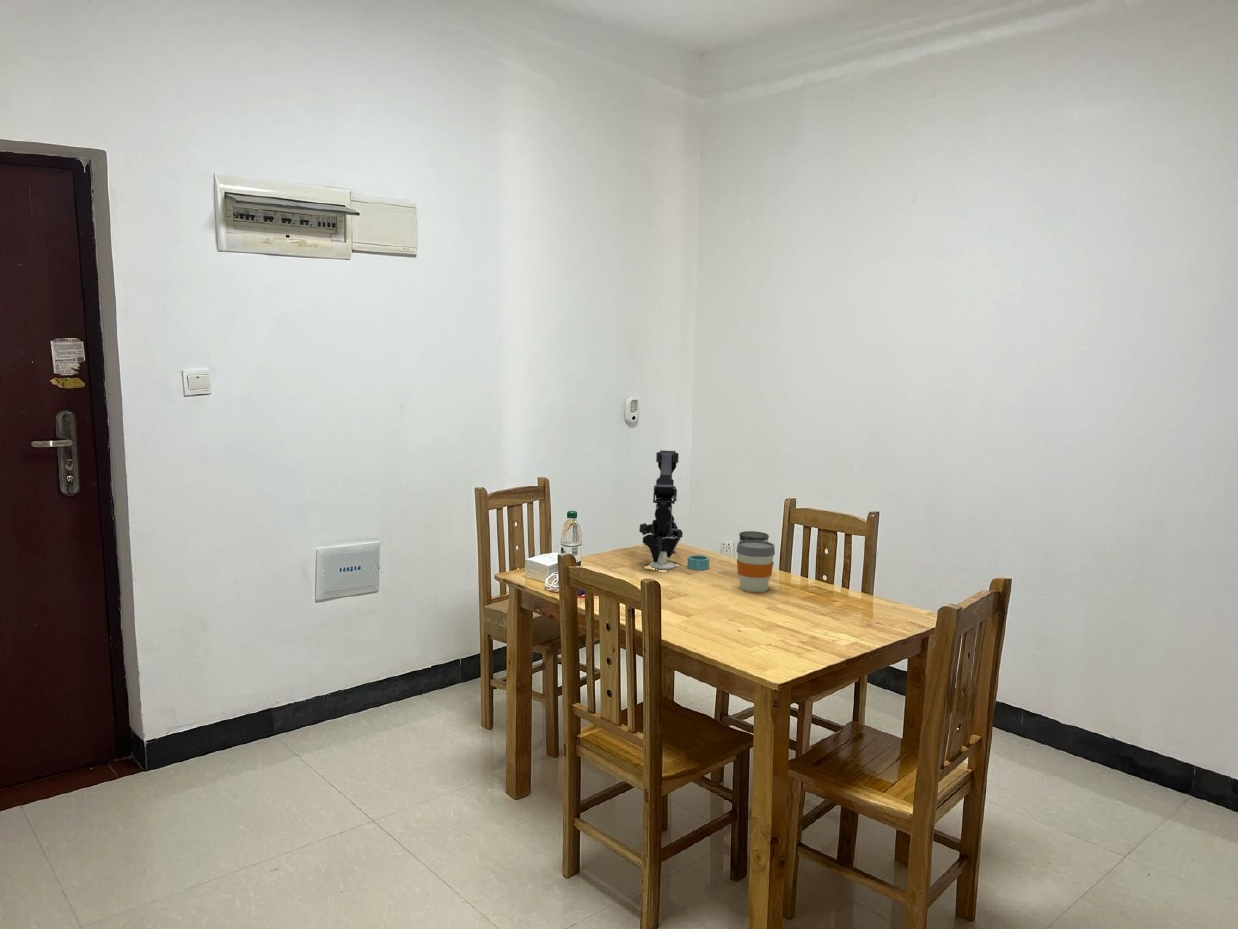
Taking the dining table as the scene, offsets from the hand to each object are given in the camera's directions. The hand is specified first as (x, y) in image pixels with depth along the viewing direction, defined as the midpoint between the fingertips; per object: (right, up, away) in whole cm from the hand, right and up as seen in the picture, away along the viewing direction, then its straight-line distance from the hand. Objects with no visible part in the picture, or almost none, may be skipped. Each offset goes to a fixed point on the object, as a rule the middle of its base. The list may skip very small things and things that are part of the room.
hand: (662, 560), depth 310 cm
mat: (0, -3, 0) cm, 3 cm away
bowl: (+13, -3, 0) cm, 13 cm away
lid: (0, -2, 0) cm, 2 cm away
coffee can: (+32, -4, -4) cm, 32 cm away
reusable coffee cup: (+29, -7, -24) cm, 38 cm away
